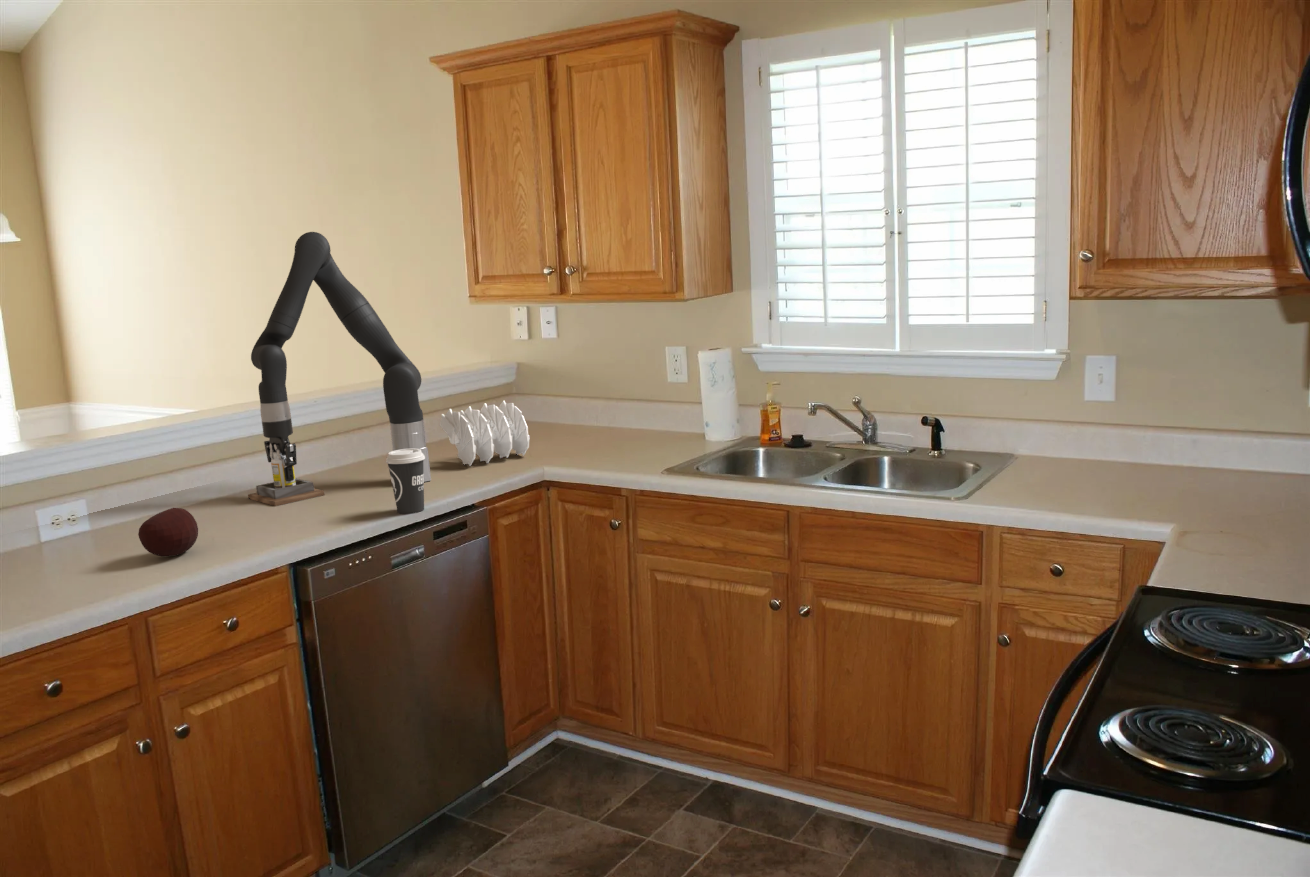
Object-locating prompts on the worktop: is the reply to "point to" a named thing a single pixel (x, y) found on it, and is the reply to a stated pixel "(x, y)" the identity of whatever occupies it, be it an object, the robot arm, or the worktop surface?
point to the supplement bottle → (280, 473)
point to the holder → (285, 493)
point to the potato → (169, 532)
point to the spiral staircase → (486, 431)
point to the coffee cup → (407, 479)
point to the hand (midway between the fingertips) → (284, 479)
